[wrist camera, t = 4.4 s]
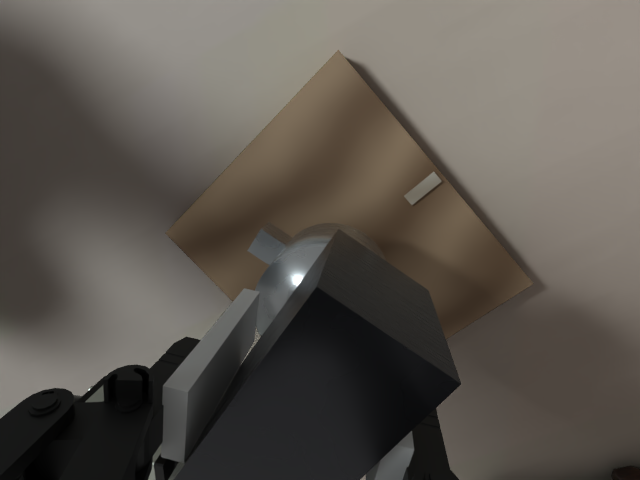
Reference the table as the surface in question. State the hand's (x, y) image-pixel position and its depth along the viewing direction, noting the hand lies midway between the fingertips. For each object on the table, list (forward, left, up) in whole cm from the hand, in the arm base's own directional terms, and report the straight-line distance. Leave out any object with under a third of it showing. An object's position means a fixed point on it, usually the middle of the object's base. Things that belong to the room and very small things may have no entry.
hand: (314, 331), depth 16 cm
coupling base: (0, 0, -11) cm, 11 cm away
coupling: (0, 0, -6) cm, 6 cm away
